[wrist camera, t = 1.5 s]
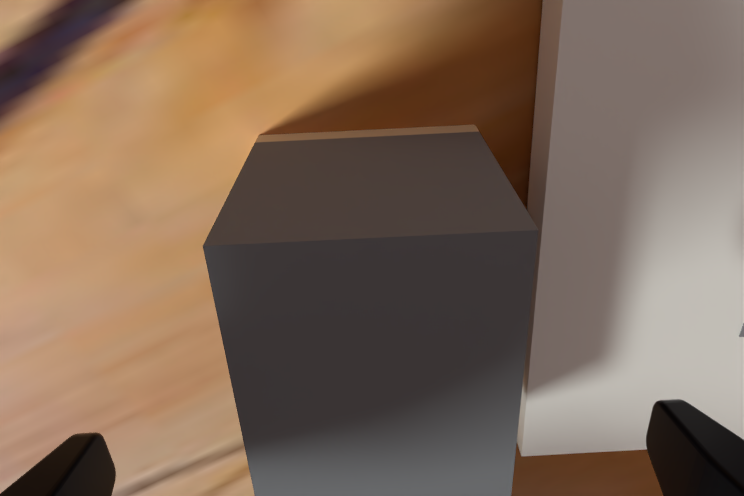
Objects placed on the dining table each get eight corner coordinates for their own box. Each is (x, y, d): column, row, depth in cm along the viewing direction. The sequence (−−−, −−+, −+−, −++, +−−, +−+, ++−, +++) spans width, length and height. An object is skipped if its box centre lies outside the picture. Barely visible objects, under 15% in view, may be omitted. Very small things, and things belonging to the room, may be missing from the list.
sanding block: (463, 380, 15) (504, 557, 11) (295, 387, 16) (270, 567, 11) (474, 122, 12) (538, 230, 8) (259, 133, 12) (203, 246, 8)
